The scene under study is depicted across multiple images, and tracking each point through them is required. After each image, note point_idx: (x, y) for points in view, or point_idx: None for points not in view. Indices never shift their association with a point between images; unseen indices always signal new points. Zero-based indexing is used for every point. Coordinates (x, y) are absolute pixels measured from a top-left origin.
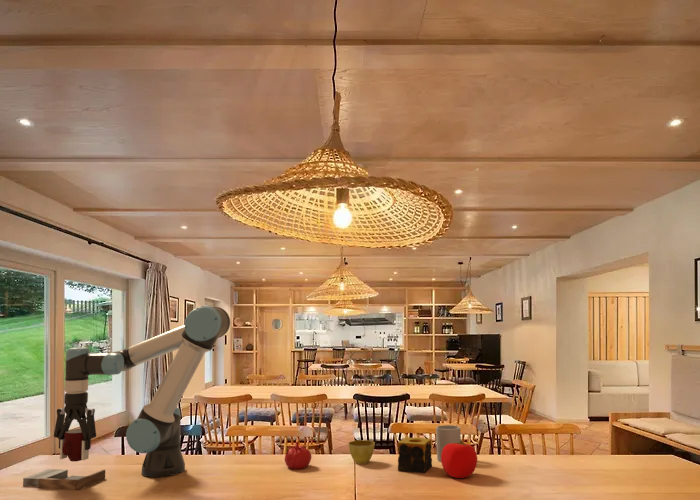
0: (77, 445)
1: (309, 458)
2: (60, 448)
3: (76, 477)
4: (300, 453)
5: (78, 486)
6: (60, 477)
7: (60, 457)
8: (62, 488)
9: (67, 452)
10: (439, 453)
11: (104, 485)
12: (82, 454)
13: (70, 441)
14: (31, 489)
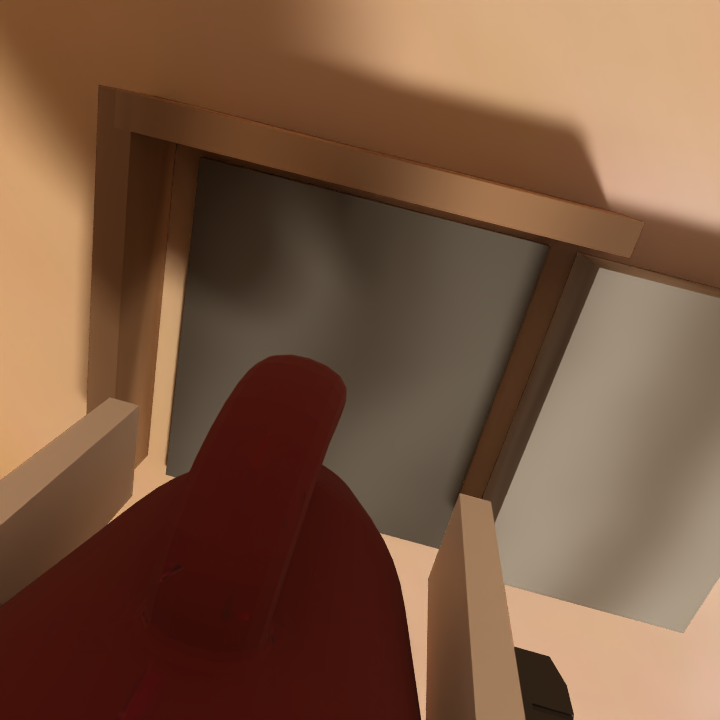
0: (70, 558)
1: None
2: (504, 628)
3: (371, 490)
4: None
5: (131, 91)
6: (499, 472)
7: (482, 514)
8: (326, 139)
9: (337, 513)
10: None
11: (5, 244)
12: (74, 441)
13: (142, 614)
14: (669, 162)
